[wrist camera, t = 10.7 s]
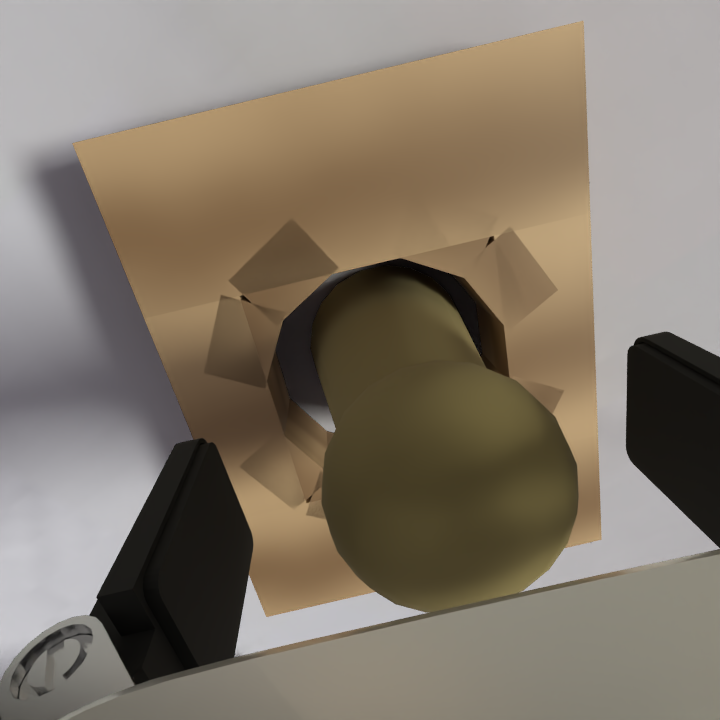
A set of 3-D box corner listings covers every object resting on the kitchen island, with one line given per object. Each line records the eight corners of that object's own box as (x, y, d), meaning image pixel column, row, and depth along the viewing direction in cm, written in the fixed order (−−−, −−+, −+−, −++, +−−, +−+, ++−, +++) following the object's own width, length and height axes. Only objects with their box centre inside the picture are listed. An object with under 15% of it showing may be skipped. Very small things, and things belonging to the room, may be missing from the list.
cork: (480, 379, 19) (658, 603, 9) (344, 430, 20) (369, 701, 9) (436, 240, 17) (606, 328, 7) (284, 301, 18) (233, 470, 7)
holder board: (117, 150, 15) (72, 143, 13) (535, 49, 15) (583, 20, 12) (273, 561, 22) (266, 616, 19) (565, 493, 22) (601, 539, 19)
